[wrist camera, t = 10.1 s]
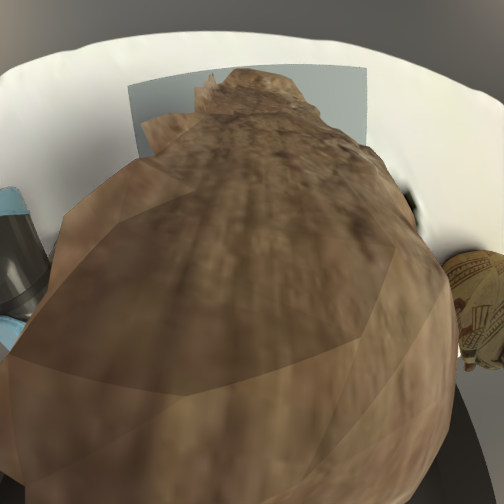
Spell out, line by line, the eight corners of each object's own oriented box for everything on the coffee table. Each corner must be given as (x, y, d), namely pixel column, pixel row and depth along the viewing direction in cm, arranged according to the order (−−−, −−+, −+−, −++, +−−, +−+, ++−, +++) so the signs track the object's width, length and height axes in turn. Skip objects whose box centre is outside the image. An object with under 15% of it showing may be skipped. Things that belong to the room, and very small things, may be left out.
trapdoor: (207, 353, 38) (199, 397, 32) (148, 83, 20) (106, 89, 14) (327, 352, 37) (333, 397, 31) (350, 68, 18) (382, 67, 13)
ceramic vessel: (406, 311, 50) (460, 449, 24) (466, 219, 40) (576, 338, 14) (461, 328, 52) (512, 435, 26) (513, 254, 42) (594, 351, 16)
